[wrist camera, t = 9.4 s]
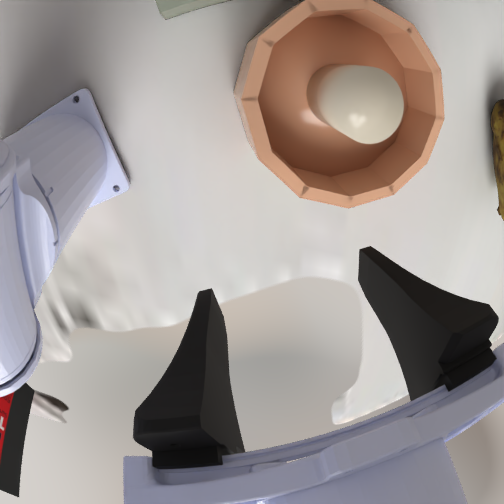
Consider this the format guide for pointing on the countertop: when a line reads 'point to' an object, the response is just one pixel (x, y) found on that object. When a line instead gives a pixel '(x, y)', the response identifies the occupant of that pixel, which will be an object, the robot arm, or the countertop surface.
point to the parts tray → (183, 6)
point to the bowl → (317, 132)
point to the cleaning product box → (13, 436)
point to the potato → (499, 150)
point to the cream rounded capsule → (356, 101)
